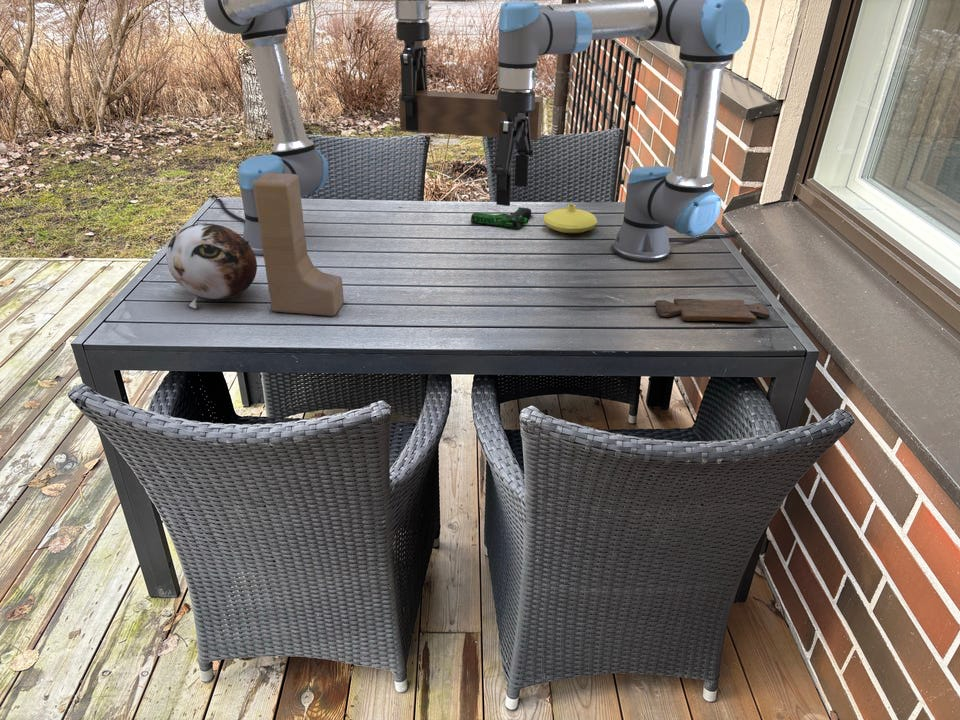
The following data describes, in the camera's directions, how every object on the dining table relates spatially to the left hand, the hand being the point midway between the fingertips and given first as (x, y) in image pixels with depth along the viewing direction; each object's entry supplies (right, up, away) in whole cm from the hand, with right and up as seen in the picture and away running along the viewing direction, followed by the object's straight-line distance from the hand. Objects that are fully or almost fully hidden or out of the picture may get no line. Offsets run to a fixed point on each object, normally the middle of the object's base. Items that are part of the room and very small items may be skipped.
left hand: (416, 126), depth 172 cm
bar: (+13, -2, -2) cm, 14 cm away
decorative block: (-24, -44, -8) cm, 51 cm away
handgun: (+23, -14, +44) cm, 52 cm away
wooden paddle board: (+69, -46, -7) cm, 83 cm away
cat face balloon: (-47, -41, -3) cm, 62 cm away
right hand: (+22, -21, -21) cm, 37 cm away
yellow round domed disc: (+42, -18, +39) cm, 60 cm away
